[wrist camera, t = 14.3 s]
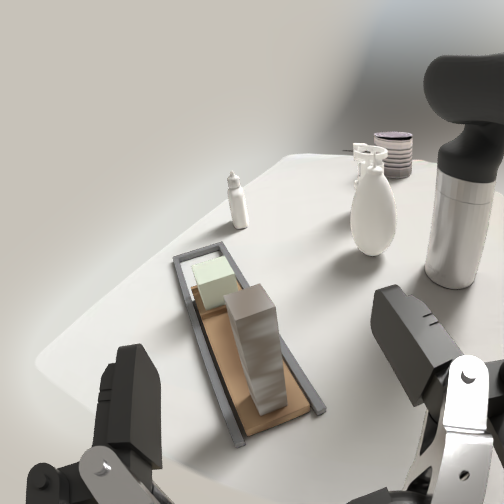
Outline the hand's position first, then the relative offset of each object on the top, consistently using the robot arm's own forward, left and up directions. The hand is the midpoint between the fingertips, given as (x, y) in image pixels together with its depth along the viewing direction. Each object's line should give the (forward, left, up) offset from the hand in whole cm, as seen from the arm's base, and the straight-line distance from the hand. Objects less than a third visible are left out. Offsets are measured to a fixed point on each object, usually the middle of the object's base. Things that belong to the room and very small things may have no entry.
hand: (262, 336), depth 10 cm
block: (-2, -29, -21) cm, 36 cm away
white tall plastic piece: (-39, -42, -23) cm, 62 cm away
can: (-62, -59, -23) cm, 89 cm away
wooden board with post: (-2, -20, -23) cm, 31 cm away
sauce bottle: (-29, -29, -23) cm, 47 cm away
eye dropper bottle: (-13, -53, -23) cm, 59 cm away
